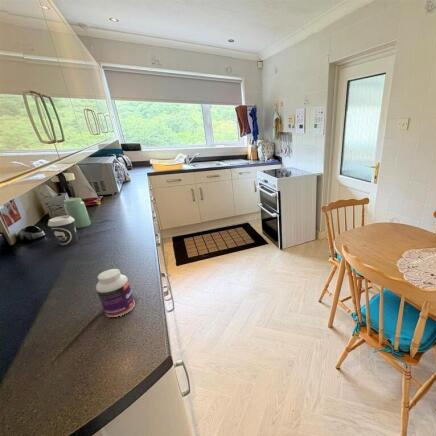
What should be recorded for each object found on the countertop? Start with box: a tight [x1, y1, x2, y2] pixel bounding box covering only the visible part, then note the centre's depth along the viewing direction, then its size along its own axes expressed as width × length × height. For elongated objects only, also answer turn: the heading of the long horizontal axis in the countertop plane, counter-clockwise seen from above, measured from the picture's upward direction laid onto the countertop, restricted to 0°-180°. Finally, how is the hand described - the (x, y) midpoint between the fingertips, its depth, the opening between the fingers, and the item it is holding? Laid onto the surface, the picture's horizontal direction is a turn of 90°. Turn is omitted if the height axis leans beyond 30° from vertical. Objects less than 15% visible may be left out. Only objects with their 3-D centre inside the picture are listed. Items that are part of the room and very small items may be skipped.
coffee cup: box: [47, 215, 79, 247], centre depth 114 cm, size 10×10×15 cm
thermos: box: [63, 197, 92, 229], centre depth 138 cm, size 9×9×16 cm
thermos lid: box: [50, 172, 76, 183], centre depth 126 cm, size 9×9×3 cm
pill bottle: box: [95, 268, 136, 318], centre depth 74 cm, size 8×8×14 cm
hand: (65, 185), depth 128 cm, fingers closed on thermos lid, 9 cm apart
